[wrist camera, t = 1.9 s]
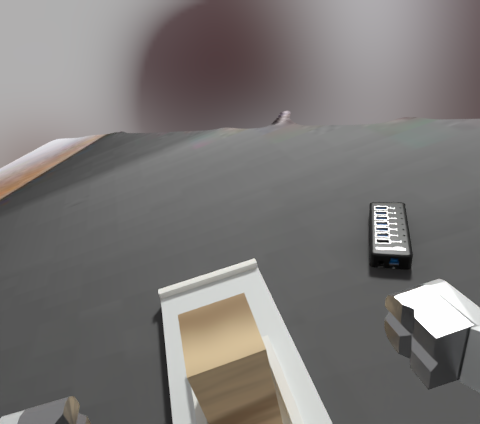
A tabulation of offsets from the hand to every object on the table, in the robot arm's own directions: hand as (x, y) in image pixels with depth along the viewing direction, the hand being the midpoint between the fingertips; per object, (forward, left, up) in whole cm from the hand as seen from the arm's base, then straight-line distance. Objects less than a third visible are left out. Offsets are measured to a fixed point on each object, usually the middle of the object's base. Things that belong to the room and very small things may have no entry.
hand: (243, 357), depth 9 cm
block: (-8, -5, -21) cm, 23 cm away
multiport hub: (-32, +8, -23) cm, 40 cm away
